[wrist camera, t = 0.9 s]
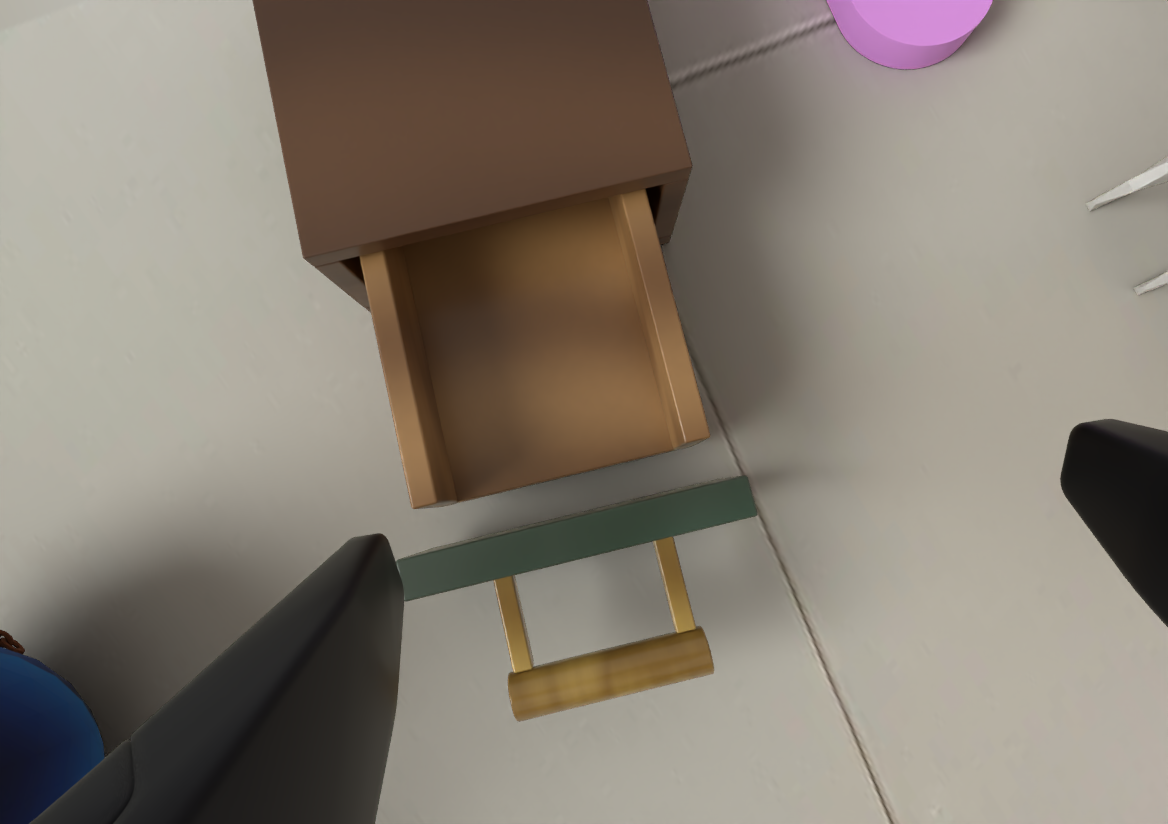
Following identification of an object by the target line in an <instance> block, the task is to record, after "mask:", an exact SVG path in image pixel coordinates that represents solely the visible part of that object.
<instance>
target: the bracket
mask: <svg viewBox="0 0 1168 824" xmlns="http://www.w3.org/2000/svg"><path fill="white" fill-rule="evenodd" d="M826 1H827V3H828V5H829V7H830V10H831V12H832V14H833V16H834V18H835V21H836V23H837V25H838V27H839V29H840V31H841V33H842V34H843V36H844V37H845V39H846V40H847V41H848V43H849V44H850V45H851V46H852V47H853V48H854V49H855V50H856V51H858V52H859V53H860V54H861V55H863V56H864V57H866V58H868V59H869V60H871V61H873V62H875V63H878V64H881V65H883V66H887V67H891V68H897V69H917V68H923V67H927V66H931V65H933V64H936V63H938V62H940V61H942V60H944V59H946V58H947V57H949V56H950V55H951V54H953V53H954V52H955V51H956V50H957V49H958V48H959V47H960V46H961V45H962V44H963V42H964V41H965V40H966V39H967V38H968V36H969V35H970V34H971V33H972V31H973V30H974V29H975V28H976V27H977V25H978V24H979V23H980V22H981V20H982V19H983V18H984V17H985V15H986V13H987V12H988V10H989V8H990V6H991V4H992V1H993V0H826Z"/></svg>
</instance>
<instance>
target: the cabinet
mask: <svg viewBox="0 0 1168 824" xmlns="http://www.w3.org/2000/svg"><path fill="white" fill-rule="evenodd" d="M253 5H254V10H255V15H256V20H257V26H258V31H259V36H260V41H261V46H262V51H263V56H264V61H265V66H266V71H267V76H268V81H269V87H270V92H271V97H272V102H273V107H274V112H275V117H276V122H277V127H278V132H279V137H280V142H281V148H282V153H283V158H284V163H285V168H286V173H287V178H288V183H289V188H290V193H291V198H292V203H293V209H294V214H295V219H296V224H297V229H298V234H299V239H300V244H301V249H302V254H303V258H304V259H305V260H306V261H308V262H309V263H310V264H311V265H313V266H315V268H316V269H318V270H319V271H320V272H321V273H323V274H324V275H325V276H326V277H327V278H329V279H330V280H331V281H332V282H334V283H335V284H336V285H337V286H338V287H340V288H341V289H342V290H343V291H345V292H346V293H347V294H348V295H349V296H351V297H352V298H353V299H354V300H356V301H357V302H358V303H359V304H361V305H362V306H363V307H365V308H366V309H367V310H368V311H369V312H371V310H370V305H369V300H368V295H367V290H366V286H365V281H364V276H363V271H362V266H361V261H360V257H359V256H361V255H366V254H370V253H374V252H378V251H383V250H387V249H391V248H395V247H400V246H404V245H408V244H412V243H416V242H421V241H425V240H429V239H433V238H438V237H442V236H446V235H450V234H455V233H459V232H463V231H467V230H472V229H476V228H480V227H484V226H489V225H493V224H497V223H501V222H505V221H510V220H514V219H518V218H522V217H527V216H531V215H535V214H539V213H544V212H548V211H552V210H556V209H561V208H565V207H569V206H573V205H578V204H582V203H586V202H590V201H594V200H599V199H603V198H607V197H611V196H616V195H620V194H624V193H628V192H633V191H637V190H641V189H646V193H647V197H648V201H649V204H650V208H651V212H652V216H653V219H654V223H655V227H656V231H657V235H658V238H659V242H660V245H661V244H665V243H668V242H670V238H671V235H672V233H673V229H674V226H675V223H676V219H677V216H678V213H679V209H680V206H681V203H682V199H683V196H684V193H685V190H686V186H687V183H688V180H689V176H690V173H691V169H692V162H691V158H690V154H689V151H688V147H687V143H686V140H685V136H684V133H683V129H682V125H681V122H680V118H679V114H678V111H677V107H676V103H675V100H674V96H673V92H672V89H671V85H670V82H669V78H668V74H667V71H666V67H665V63H664V60H663V56H662V52H661V49H660V45H659V42H658V38H657V34H656V31H655V27H654V23H653V20H652V16H651V12H650V9H649V5H648V1H647V0H253Z"/></svg>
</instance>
